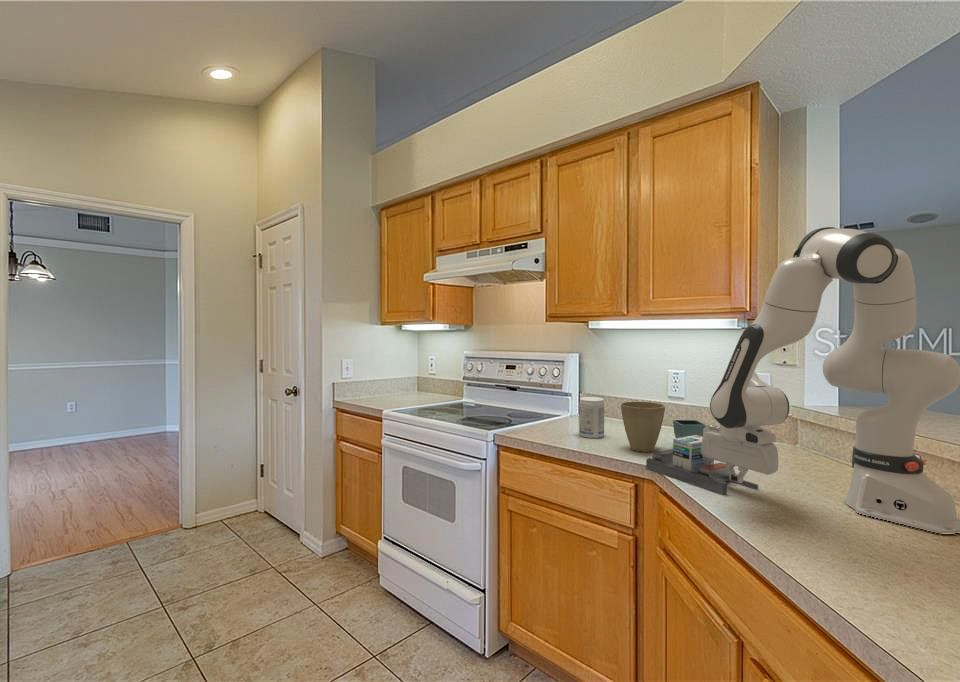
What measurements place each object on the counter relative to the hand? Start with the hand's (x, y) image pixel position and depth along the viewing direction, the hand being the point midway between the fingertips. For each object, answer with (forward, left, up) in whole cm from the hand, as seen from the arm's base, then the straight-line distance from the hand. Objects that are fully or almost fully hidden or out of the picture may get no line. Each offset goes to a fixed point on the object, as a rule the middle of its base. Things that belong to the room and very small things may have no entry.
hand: (736, 481), depth 134 cm
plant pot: (+42, -10, -3) cm, 43 cm away
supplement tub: (+66, -8, -3) cm, 67 cm away
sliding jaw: (+7, -1, -2) cm, 7 cm away
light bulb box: (+14, -1, -3) cm, 15 cm away
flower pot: (+37, -28, -3) cm, 46 cm away
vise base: (+11, 0, -2) cm, 12 cm away
